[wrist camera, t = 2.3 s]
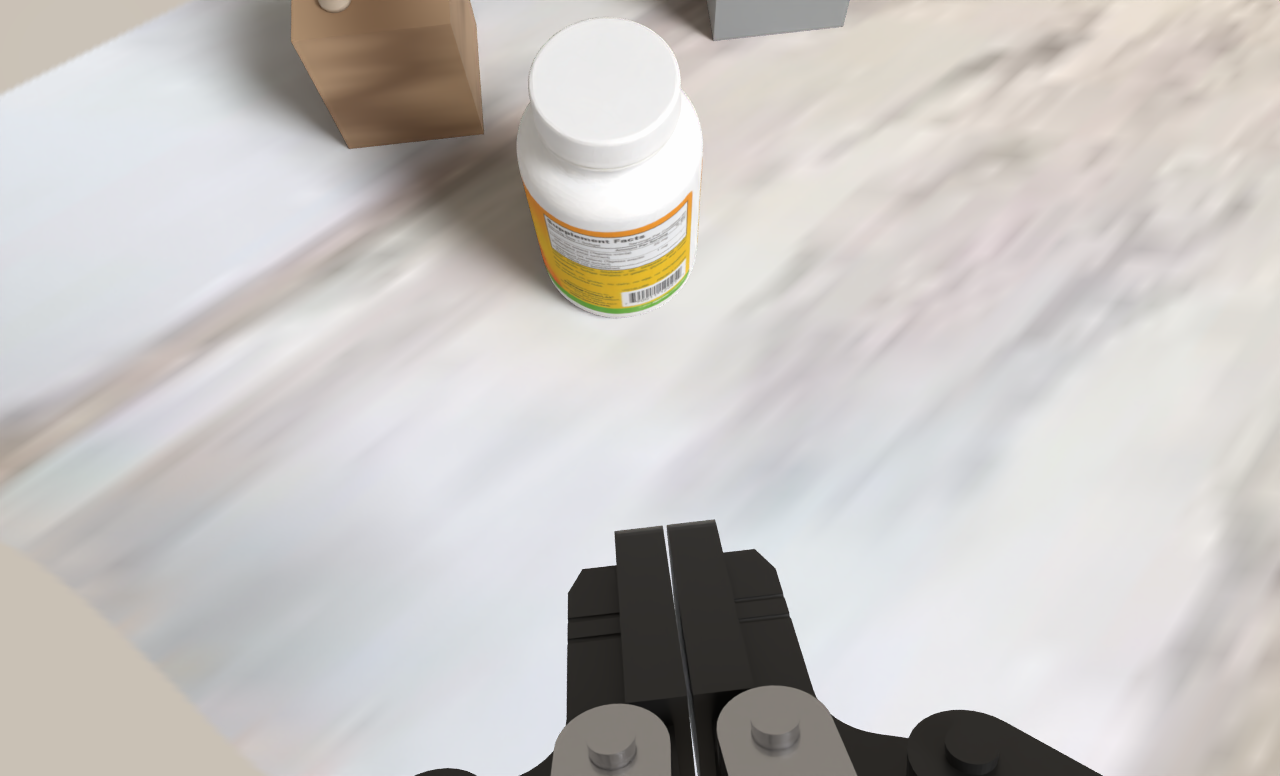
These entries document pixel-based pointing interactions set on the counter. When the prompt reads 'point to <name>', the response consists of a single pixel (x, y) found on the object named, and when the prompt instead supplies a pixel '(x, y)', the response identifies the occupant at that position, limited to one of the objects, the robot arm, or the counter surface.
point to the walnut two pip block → (392, 67)
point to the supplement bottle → (612, 166)
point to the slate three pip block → (773, 16)
